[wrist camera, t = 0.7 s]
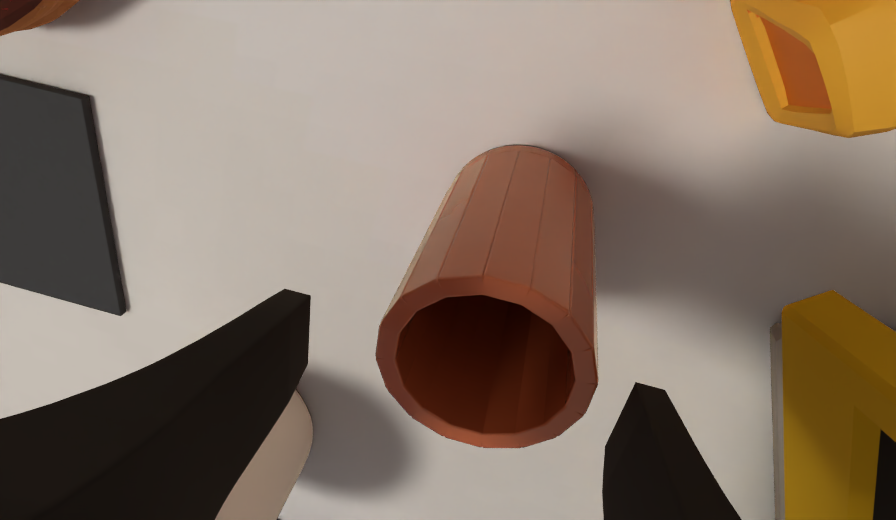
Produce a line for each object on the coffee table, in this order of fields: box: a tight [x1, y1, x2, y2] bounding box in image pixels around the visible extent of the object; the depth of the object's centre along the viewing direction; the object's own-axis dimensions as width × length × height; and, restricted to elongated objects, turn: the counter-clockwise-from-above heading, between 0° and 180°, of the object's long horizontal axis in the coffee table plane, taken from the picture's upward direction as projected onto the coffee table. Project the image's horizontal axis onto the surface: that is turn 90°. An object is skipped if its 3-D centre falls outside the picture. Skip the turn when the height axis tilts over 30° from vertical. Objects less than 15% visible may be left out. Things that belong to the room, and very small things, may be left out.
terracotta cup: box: [376, 145, 598, 448], centre depth 16 cm, size 5×5×8 cm
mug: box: [215, 389, 313, 520], centre depth 24 cm, size 12×8×10 cm
